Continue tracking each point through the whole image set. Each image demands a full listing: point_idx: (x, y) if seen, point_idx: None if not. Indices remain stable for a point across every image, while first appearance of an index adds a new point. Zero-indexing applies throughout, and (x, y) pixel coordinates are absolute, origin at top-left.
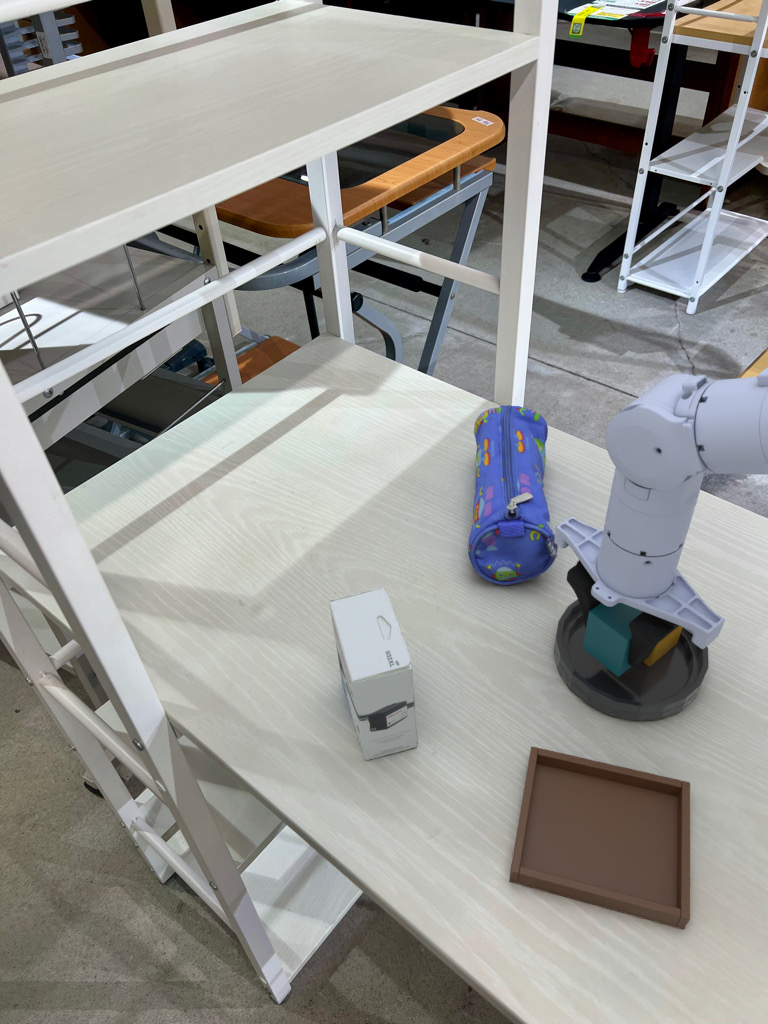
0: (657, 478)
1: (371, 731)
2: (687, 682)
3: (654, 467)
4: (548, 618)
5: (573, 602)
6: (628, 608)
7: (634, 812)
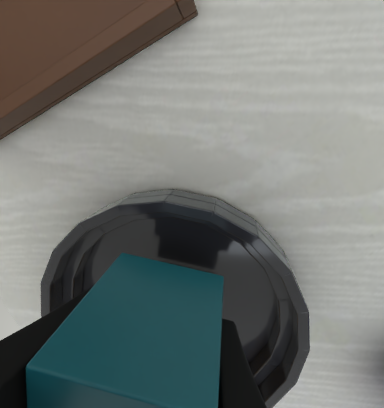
0: None
1: None
2: None
3: None
4: (328, 305)
5: (304, 362)
6: None
7: (5, 54)
